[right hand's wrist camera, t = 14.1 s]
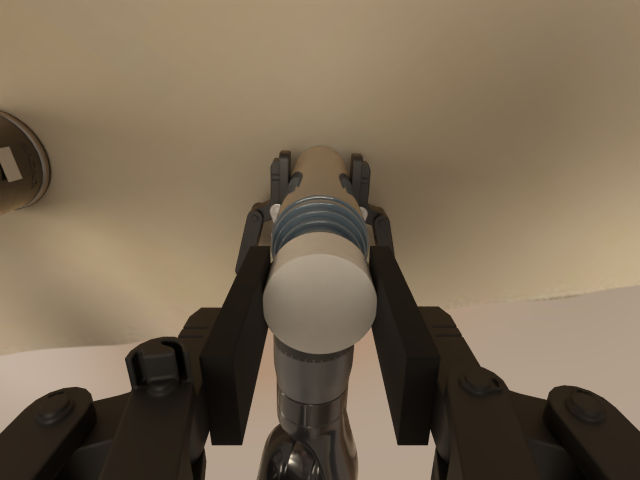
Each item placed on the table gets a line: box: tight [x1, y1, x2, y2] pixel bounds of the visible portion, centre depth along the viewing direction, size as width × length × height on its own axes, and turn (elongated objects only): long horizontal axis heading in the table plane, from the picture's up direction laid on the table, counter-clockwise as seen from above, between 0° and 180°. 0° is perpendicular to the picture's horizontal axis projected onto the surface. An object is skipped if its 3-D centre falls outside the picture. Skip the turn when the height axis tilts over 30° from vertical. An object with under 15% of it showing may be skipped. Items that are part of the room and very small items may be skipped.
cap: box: [263, 232, 377, 354], centre depth 14 cm, size 4×4×2 cm
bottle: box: [271, 146, 369, 260], centre depth 24 cm, size 5×5×24 cm
